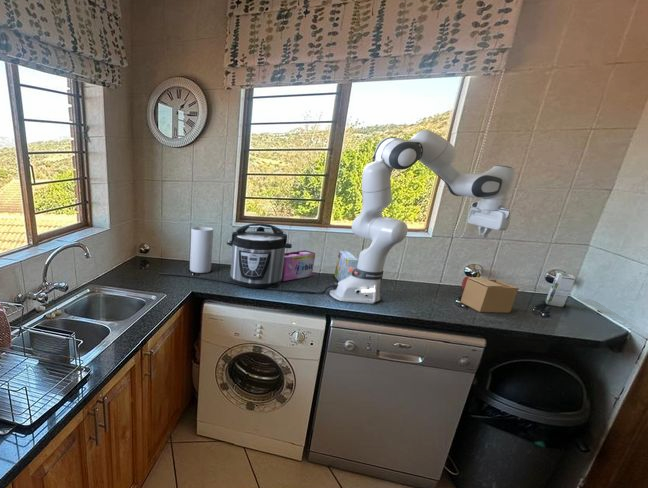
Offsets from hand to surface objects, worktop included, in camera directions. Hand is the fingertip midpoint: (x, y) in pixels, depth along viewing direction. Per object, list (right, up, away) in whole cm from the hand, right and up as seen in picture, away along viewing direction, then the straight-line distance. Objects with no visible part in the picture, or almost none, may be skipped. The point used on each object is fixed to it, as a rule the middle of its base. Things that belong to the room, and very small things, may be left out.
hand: (482, 237), depth 179 cm
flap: (+2, -20, +1) cm, 20 cm away
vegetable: (+15, -24, +24) cm, 37 cm away
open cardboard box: (+5, -31, +5) cm, 32 cm away
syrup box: (+42, -30, +9) cm, 52 cm away
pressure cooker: (-92, -18, +38) cm, 101 cm away
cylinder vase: (-118, -9, +60) cm, 133 cm away
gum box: (-67, -14, +49) cm, 84 cm away
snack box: (-43, -17, +41) cm, 61 cm away
